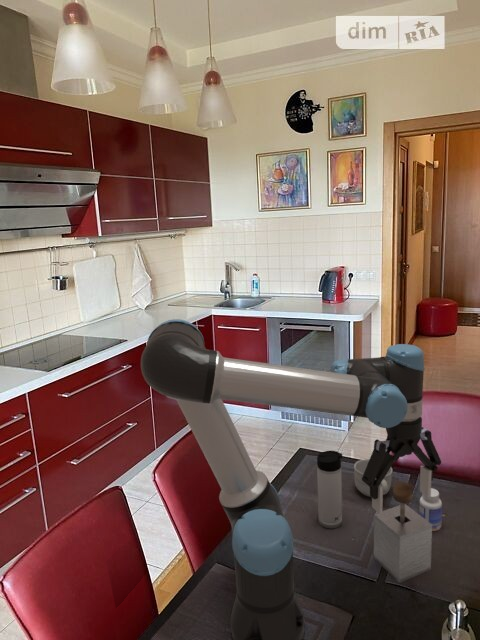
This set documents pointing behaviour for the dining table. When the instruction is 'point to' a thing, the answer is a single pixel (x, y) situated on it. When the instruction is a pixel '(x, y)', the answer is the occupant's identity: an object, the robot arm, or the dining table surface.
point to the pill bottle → (431, 509)
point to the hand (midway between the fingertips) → (401, 501)
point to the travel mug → (329, 489)
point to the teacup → (386, 482)
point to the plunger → (402, 496)
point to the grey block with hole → (402, 543)
